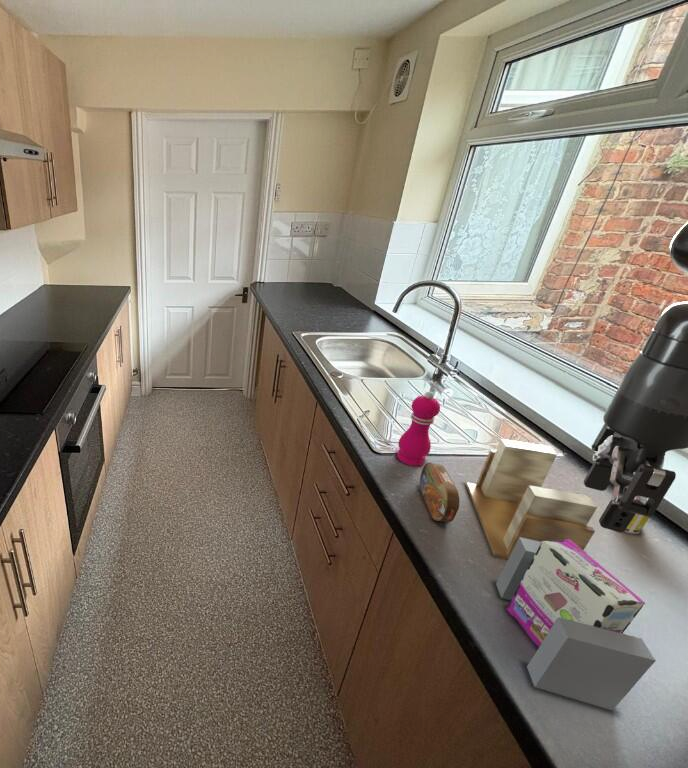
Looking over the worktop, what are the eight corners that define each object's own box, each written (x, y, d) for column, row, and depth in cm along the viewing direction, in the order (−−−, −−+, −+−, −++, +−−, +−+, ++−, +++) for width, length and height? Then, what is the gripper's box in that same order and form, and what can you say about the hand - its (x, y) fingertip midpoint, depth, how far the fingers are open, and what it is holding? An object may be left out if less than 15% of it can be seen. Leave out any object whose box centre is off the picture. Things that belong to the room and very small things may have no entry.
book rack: (535, 498, 95) (562, 444, 88) (582, 577, 76) (620, 516, 70) (465, 485, 99) (485, 432, 92) (493, 556, 81) (521, 497, 74)
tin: (416, 482, 100) (425, 454, 96) (430, 484, 100) (440, 456, 96) (436, 529, 87) (447, 498, 83) (453, 531, 86) (465, 501, 83)
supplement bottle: (633, 521, 88) (653, 491, 84) (644, 537, 84) (665, 506, 81) (604, 515, 90) (622, 484, 86) (613, 530, 86) (632, 499, 82)
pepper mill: (424, 471, 104) (447, 402, 95) (393, 462, 107) (411, 394, 98) (426, 456, 109) (448, 389, 100) (396, 448, 113) (414, 382, 104)
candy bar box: (594, 675, 62) (649, 603, 54) (562, 678, 61) (613, 606, 54) (531, 606, 72) (571, 537, 64) (504, 608, 71) (540, 539, 64)
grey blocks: (555, 599, 73) (585, 551, 67) (611, 711, 57) (655, 660, 52) (495, 584, 75) (519, 536, 70) (533, 688, 60) (567, 637, 55)
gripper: (749, 437, 39) (661, 557, 47) (687, 380, 50) (624, 484, 57) (639, 417, 43) (574, 531, 50) (604, 367, 54) (554, 467, 61)
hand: (601, 506), depth 54 cm, fingers open, 8 cm apart
